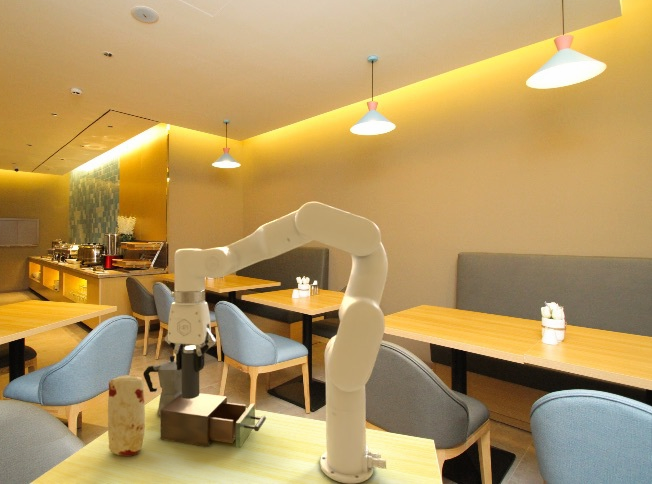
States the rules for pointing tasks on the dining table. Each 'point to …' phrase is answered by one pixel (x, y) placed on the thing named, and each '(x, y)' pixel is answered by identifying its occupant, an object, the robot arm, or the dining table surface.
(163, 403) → the coffeepot
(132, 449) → the food model
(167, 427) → the cabinet
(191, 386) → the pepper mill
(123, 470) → the dining table surface
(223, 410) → the drawer
